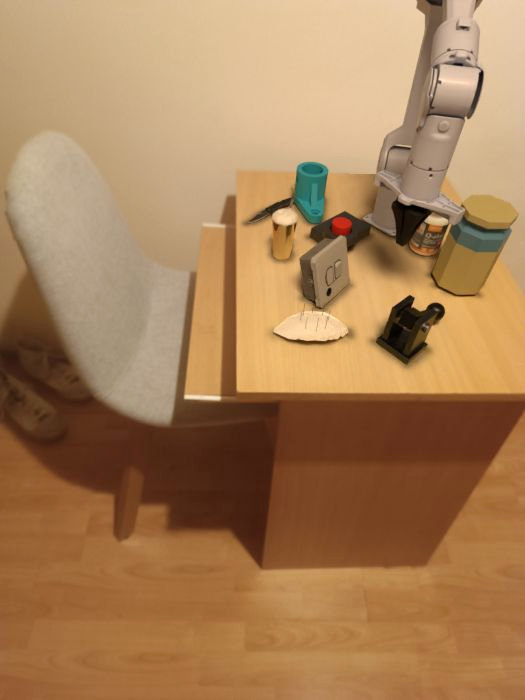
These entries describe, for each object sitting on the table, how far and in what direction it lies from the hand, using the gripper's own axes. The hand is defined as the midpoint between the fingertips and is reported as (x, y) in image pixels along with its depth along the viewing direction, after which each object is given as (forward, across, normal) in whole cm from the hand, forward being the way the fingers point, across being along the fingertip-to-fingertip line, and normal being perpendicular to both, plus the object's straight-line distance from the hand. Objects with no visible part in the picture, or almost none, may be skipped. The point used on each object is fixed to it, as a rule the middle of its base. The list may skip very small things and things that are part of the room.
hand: (402, 242), depth 76 cm
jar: (+10, +7, +11) cm, 16 cm away
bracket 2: (+9, +10, -10) cm, 17 cm away
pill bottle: (+10, -3, +15) cm, 18 cm away
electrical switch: (+10, -7, -10) cm, 15 cm away
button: (+6, -14, +2) cm, 15 cm away
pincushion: (+10, -1, -19) cm, 21 cm away
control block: (+9, -15, +4) cm, 18 cm away
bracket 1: (+10, -27, +8) cm, 29 cm away
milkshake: (+10, -19, -8) cm, 23 cm away
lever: (+7, +10, -6) cm, 14 cm away
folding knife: (+9, -30, 0) cm, 31 cm away
